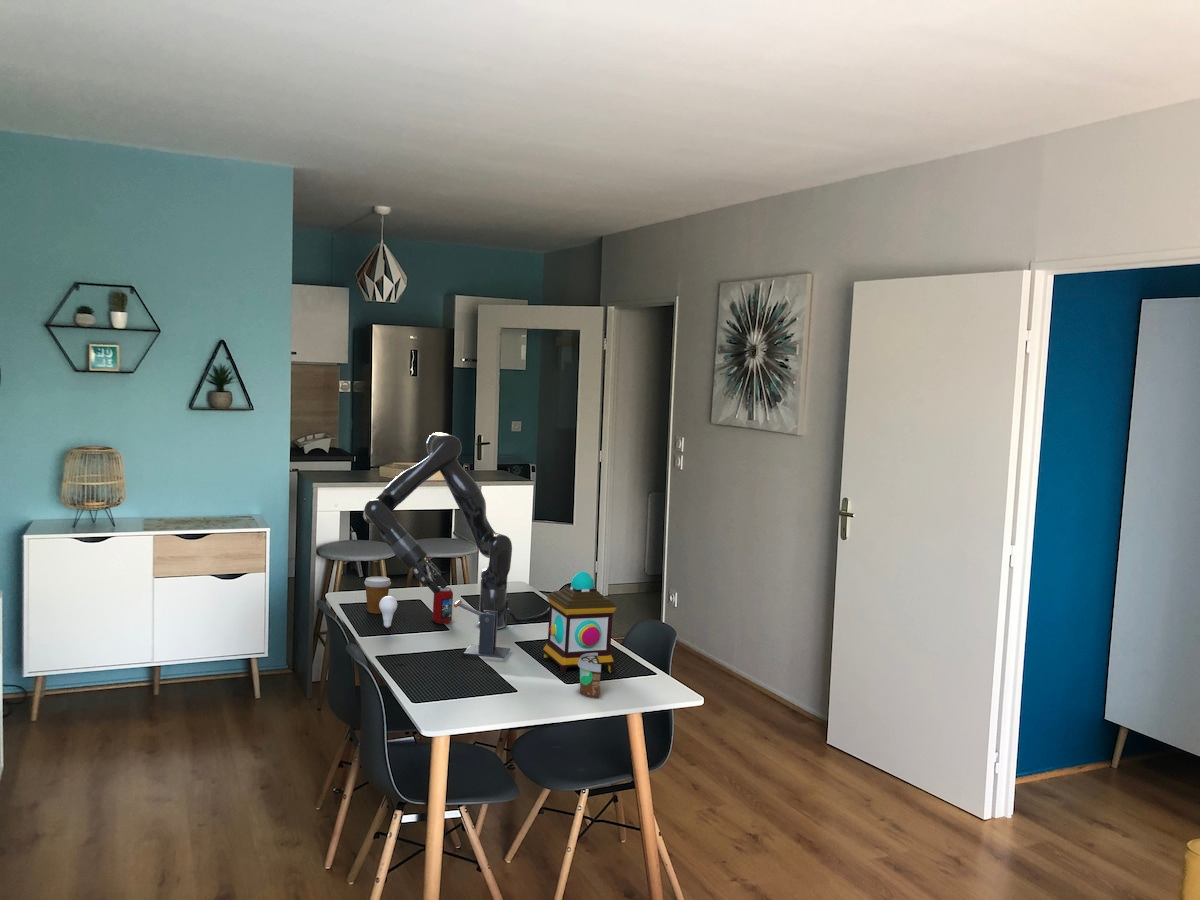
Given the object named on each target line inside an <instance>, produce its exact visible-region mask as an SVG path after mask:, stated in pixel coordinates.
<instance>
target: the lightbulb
mask: <svg viewBox="0 0 1200 900" xmlns="http://www.w3.org/2000/svg"><path fill="white" fill-rule="evenodd" d="M379 608H380V610H381V612H382V613H381V614H382V620H383V627H384V628H386V629H389V628H390V627H391V626H392V621H393V617H394V614H395V612H396V611H397V608H398V601H397V599H396V598H395V597H394V596H391V595H388V596H385V597H383V598H382V599H381V601H380V603H379Z"/></svg>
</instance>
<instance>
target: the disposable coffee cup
mask: <svg viewBox="0 0 1200 900" xmlns="http://www.w3.org/2000/svg"><path fill="white" fill-rule="evenodd" d="M363 583H364V585H365V597H366V598H365V599H366V610H367V613H370V614H382V612H381V610H380V608H379V603H380V601H381V599H382V598H383V597H385V596H389V591H390V586H391V584H392V582H391V579H390V578H389V577H386V576H368V577H366V578H365V580H364V582H363Z"/></svg>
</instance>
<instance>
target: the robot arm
mask: <svg viewBox="0 0 1200 900" xmlns="http://www.w3.org/2000/svg"><path fill="white" fill-rule="evenodd" d="M462 450H463V446H462V442H461V440H460V439H459V438H458V437H456V435H453V434H449V433H445V432H435V433H434V432H433V433H432V434H431V435H429V437H428V438H427V440H426V452H427V454H428V456H427V457H426V458H424V459H423V460H422V461H420V462H419V463H417V464H416V465H414V466H412V467H410V468H408V469H406V470H405V471H403V472H401V473H400V474H399V475H398V476H395V478H394V479H393V480H392V481H390V482H389V484H387V486H386V487H385V488H384V489H383V490H382V492H381V493H380V494H379V495H378V496H377V497H376V498H374V499H370V500H369V501H367V502H366V504H365V506H364V508H363V513H362V514H363V515H362V517H363V519H364V521H365V522H366V523H367V524H369V525H372V526H375V528H376V529H377V530H378V531H379V532H380V536H381V538H382V539H383V541H385V543H386V544H387V545H388V547H389V548H391V550H392V552H393V553H394V554H395V556H396V557H397V558H398V559H399V560H400V561H401V563H402V564H403V565H404V566H405V567H406V568H407V570H411V573H412V574H413V576H415V578H416V579H417V580H418V581H419V582H420V584H421V585H422V586H424V587H427V588H429V589H430V591H431V592H432V594H433V595H434V594H437V593H438V592H440V588H439V587H441V588H442V589H444V588H445V587H447V586H448V585H449V584H448V582H447V581H446V580H445V579H444V577H443V576H442V571H441V570H440V569H439V568H438V567H437V565H436V564H435V563H434V562H433V561H432V560H431V559H430V558H429V559H427V560H426V559H425V558H426V557H427V555H428V554H427V552H426V551H425V550H424V549H423V547H422V546H421V545H420V544H419V543H418V542H417V540H416V539H415V538H414V537H413V536H412V535H411V534H410V533H409V532H408V531H407V530H406V529H405V527H403V525H402V524H401V523H400V522H399V521H398V520H397V518H396V516H395V515H394V513H393V511H394V510H395V509H396V508H397V507H398V506H399V505H400V504H401V503H403V502H404V501H405V500H406V499H408V497H409V496H410V495H411V494H412V493H414V491H416V489H418V488H419V487H421V485H422V484H424V483H425V482H427V480H429V479H430V478H431V477H433V476H434V475H436V474H437V473H439V472H440V474H441V475H442V477H443V479H444V481H445V483H446V485H447V487H448V490H449V491H450V493H451V495H452V497H453V499H454V501H455V503H456V505H457V508H458V509H459V510H460V512H461V514H462V516H463V518H464V519H465V522H466V523H467V525H468V527H469V529H470V532H471V533H472V536H473V538H474V539H473V540H474V542H475V544H476V546H477V549H478V551H479V553H480V554H481V555H482V556H483V557H485V558H487V559H488V566H487V568H483V569H482V570H481V574H480V591H479V607H478V611H480V612H482V613H484V610H490V611H498V617H497V630H503V629H504V628H505V627H507V625H508V618H510V617H511V618H512V619H513V620H514V621H516V622H517V621H518V622H521V621H530V620H535V619H539V618H542V617H545V616H546V615H547V614H549V612H550V606H549V607H548V608H547V609H546V610H545V611H544V612H542V613H540V614H537V615H533V616H530V617H524V618H523V617H522V618H520V617H516V616H515V614H514V613H513V612H512V611H511V608H509V600H508V598H507V592H508V590H507V589H508V575H509V573H510V571H511V565H512V555H513V543H512V539H511V538H509V536H507V535H505V534H502V533H498V532H496V531H495V530H494V529H493V527H492V525H491V524H490V522H489V520H488V517H487V503H486V499H485V496H484V494H483V492H482V491H481V488H480V487H479V485H478V483H477V482H476V481H475V480H474V479H473V477H472V476H471V475H470V474H469V473H468V471H466V469H464V467H463V466H462V464H460V462H459V460H458V458H459V457H460V455H461V454H462ZM437 584H438V585H439V586H438V585H437ZM480 618H481V616H479V615H478V623H477V626H478V628H480Z"/></svg>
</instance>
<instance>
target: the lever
mask: <svg viewBox="0 0 1200 900" xmlns="http://www.w3.org/2000/svg"><path fill="white" fill-rule="evenodd" d="M462 602H463V601H462V600H461V599H458V600H457V601H456V602H455V603H453V607H454V608H458V607H460V608H461V609H464V610H466V611H468V612H470V613H473V614H475V615H477V616H478V617H479V616H481V613H482V612H480V611H479V610H477V609H475V608H473V607H471V606H469V605H466V604H464V603H462ZM487 614H490V613H488V612H487Z"/></svg>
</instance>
